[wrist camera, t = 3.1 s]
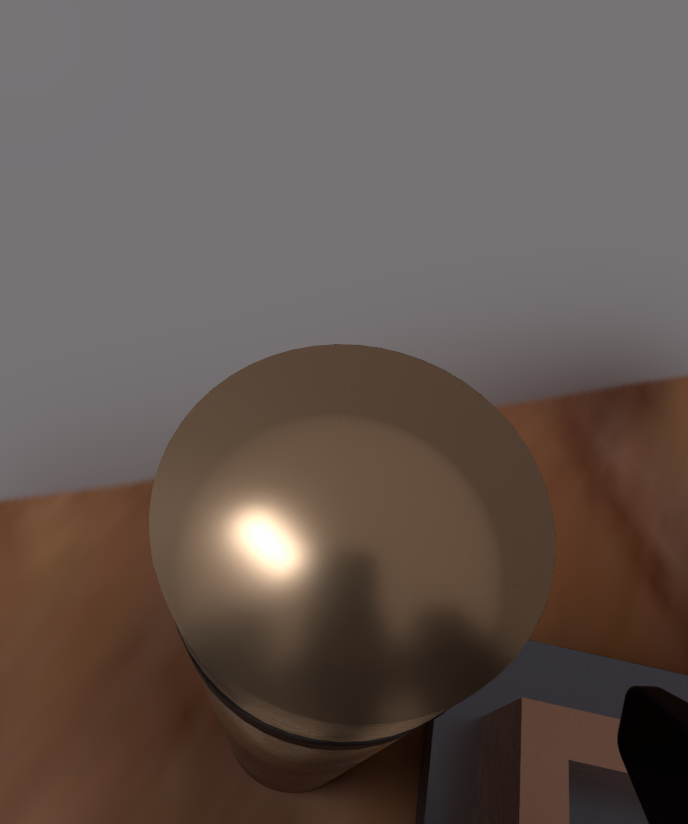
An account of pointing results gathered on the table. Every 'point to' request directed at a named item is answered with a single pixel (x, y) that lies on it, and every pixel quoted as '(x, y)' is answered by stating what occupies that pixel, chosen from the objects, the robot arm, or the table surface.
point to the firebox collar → (537, 744)
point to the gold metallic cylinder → (346, 553)
